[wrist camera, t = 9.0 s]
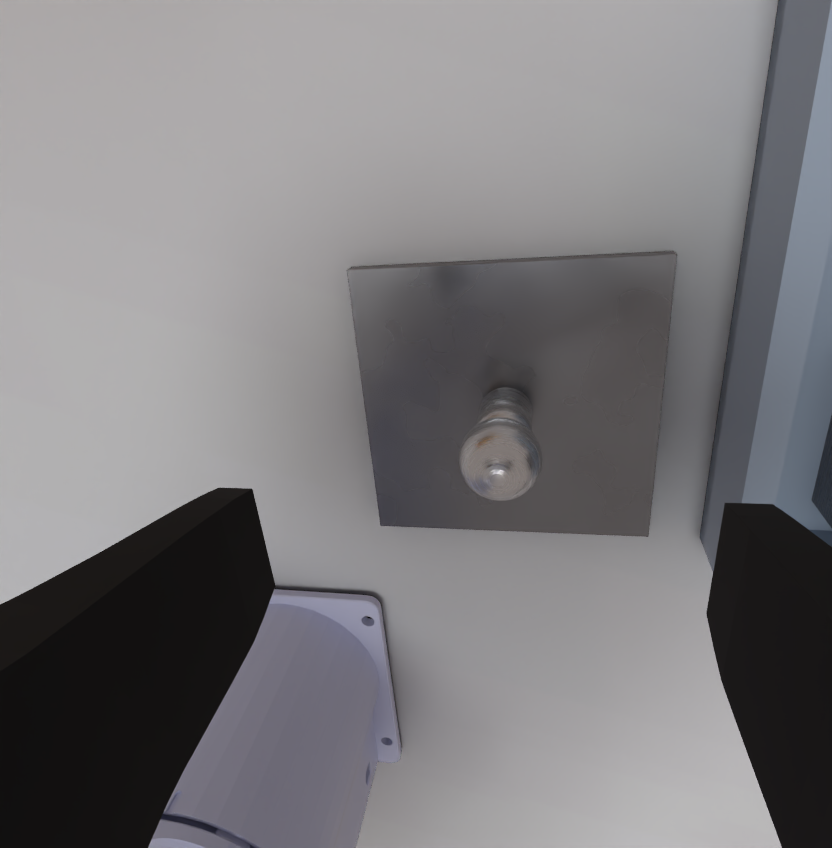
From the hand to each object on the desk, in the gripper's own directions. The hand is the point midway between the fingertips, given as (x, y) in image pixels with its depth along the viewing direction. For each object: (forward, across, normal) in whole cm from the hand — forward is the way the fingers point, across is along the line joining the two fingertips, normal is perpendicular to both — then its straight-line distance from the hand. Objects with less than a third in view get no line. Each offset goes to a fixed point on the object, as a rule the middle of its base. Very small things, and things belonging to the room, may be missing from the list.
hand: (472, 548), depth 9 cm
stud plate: (+10, 0, +2) cm, 10 cm away
